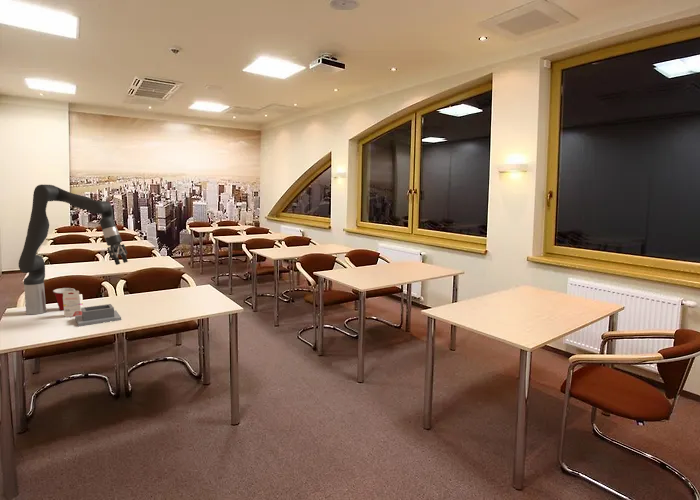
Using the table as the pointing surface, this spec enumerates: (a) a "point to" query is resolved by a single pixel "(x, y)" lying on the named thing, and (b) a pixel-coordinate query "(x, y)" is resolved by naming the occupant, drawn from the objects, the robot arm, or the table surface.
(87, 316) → the dock
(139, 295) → the table surface
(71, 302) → the ink cartridge box
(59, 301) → the plastic cup
